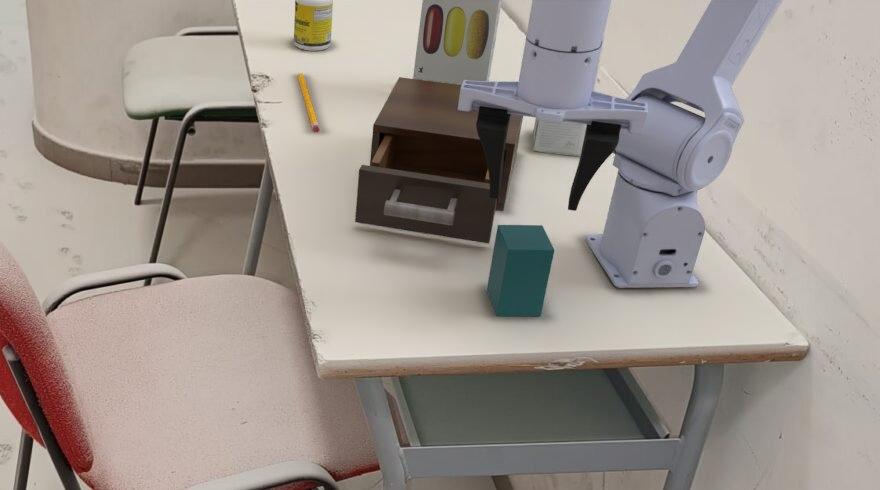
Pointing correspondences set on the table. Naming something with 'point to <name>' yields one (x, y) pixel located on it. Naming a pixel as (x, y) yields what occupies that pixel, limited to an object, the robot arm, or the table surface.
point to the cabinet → (439, 121)
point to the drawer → (427, 189)
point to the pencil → (308, 103)
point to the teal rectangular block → (519, 270)
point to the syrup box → (561, 133)
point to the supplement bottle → (313, 24)
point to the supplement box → (456, 40)
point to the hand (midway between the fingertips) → (533, 199)
